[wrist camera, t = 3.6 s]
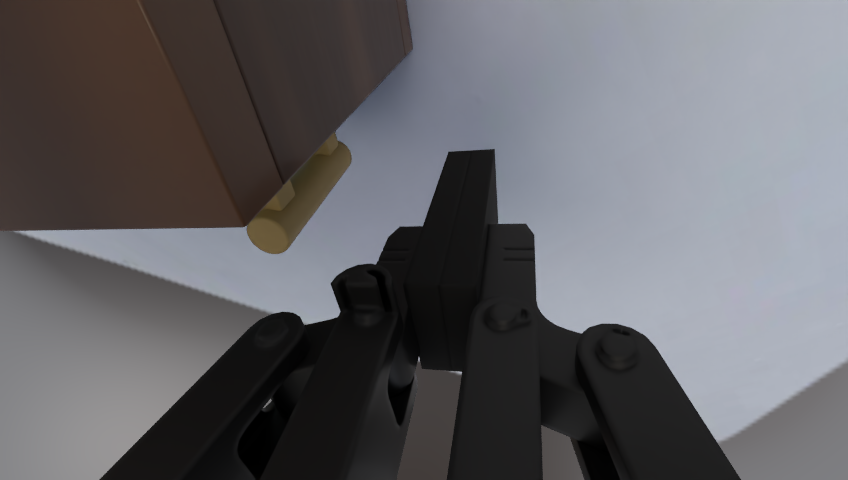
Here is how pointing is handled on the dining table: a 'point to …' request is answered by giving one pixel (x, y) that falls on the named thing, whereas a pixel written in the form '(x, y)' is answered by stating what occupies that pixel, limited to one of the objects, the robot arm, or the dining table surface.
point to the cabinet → (176, 104)
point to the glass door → (299, 198)
